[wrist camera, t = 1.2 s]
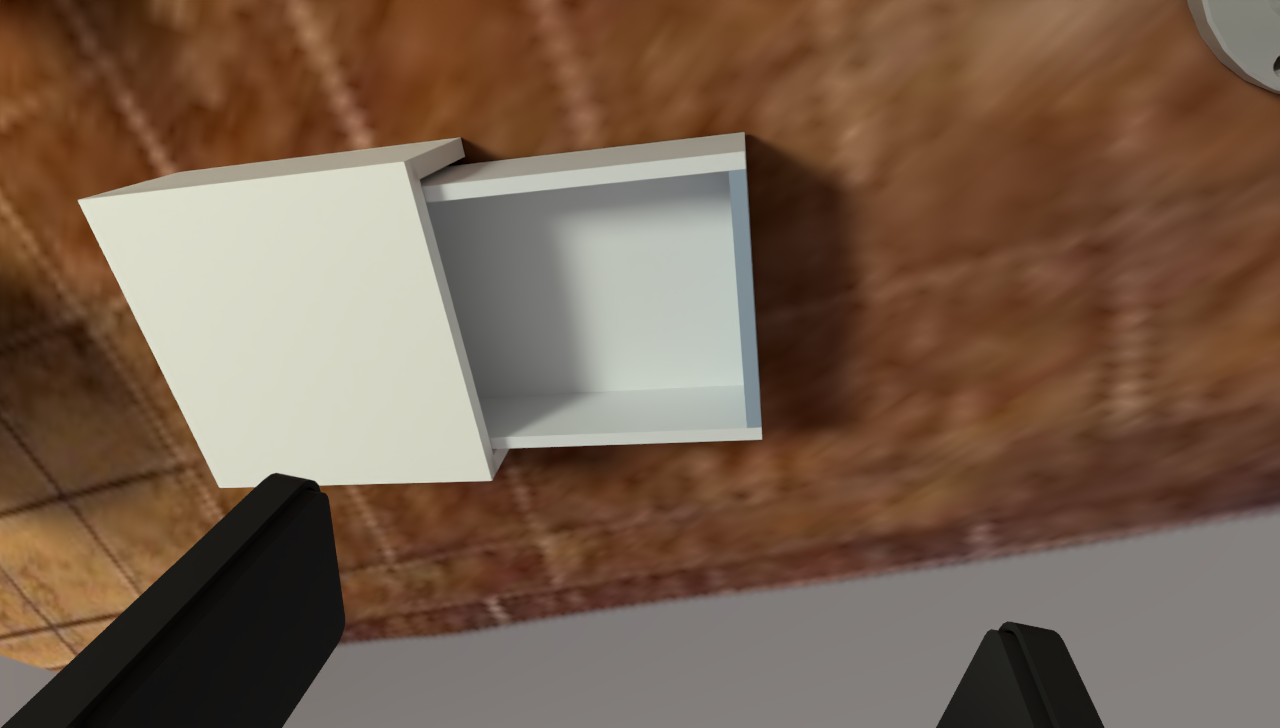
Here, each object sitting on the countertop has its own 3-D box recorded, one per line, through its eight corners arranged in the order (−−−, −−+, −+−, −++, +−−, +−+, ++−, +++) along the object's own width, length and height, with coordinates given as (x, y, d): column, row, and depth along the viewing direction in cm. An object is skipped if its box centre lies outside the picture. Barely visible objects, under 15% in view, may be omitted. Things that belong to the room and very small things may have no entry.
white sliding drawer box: (744, 132, 27) (744, 151, 23) (760, 388, 32) (762, 439, 28) (223, 192, 32) (150, 216, 28) (310, 410, 37) (258, 456, 33)
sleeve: (460, 137, 29) (403, 161, 24) (526, 416, 35) (492, 480, 30) (179, 172, 32) (77, 200, 27) (286, 427, 38) (219, 487, 33)
